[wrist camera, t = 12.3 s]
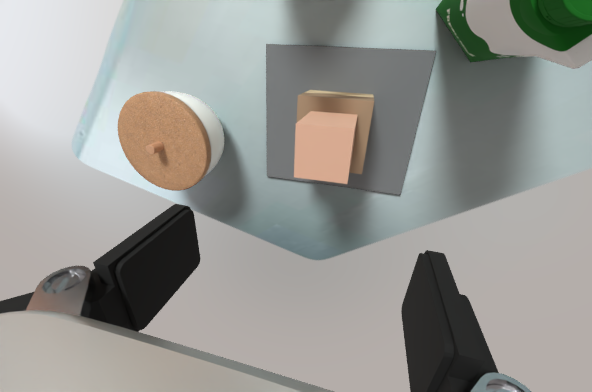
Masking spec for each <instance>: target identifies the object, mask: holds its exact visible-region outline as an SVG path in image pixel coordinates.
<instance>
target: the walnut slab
mask: <svg viewBox="0 0 592 392" xmlns="http://www.w3.org/2000/svg"><path fill="white" fill-rule="evenodd" d="M373 106H374V97H361V96H347V95H334V94H320V93H307V92H304V93H302V94H300V95H298V102H297V122H298V121H299V120H301V119H302V118H303V117H304V116H306V115H307V114H308V113H309V112H310V111H316V112H329V113H342V114H356V115H358V116H357V123H356V131H355V138H354V146H353V153H352V160H351V166H350V172H349V173H356V174H362V171H363V165H364V159H365V153H366V147H367V141H368V135H369V130H370V124H371V118H372V112H373Z"/></svg>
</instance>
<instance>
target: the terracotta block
mask: <svg viewBox="0 0 592 392" xmlns="http://www.w3.org/2000/svg"><path fill="white" fill-rule="evenodd" d="M357 116H358V115H356V114H342V113H329V112H316V111H310V112H309V113H308V114H307V115H306V116H304V117H303V118H302V119H301V120H299V121H298V122H297V123H296V129H295V159H294V177H295V178H303V179H311V180H319V181H327V182H335V183H343V184H347V183H348V177H349V172H350V166H351V160H352V153H353V146H354V138H355V131H356V123H357Z"/></svg>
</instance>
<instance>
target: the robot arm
mask: <svg viewBox="0 0 592 392" xmlns="http://www.w3.org/2000/svg"><path fill="white" fill-rule="evenodd" d="M199 262H200V254H199V247H198V240H197V233H196V226H195V219H194V214H193V211H192V210H191V209H190V207H188V206H184V205H179V204H175V205H173V206H171V207H170V208H169V209H167V210H166V211H165V212H163V213H162V214H160V215H159V216H157V217H156V218H155V219H153V220H152V221H150V222H149V223H148V224H146V225H145V226H143V227H142V228H141V229H139V230H138V231H136V232H135V233H134V234H132V235H131V236H129V237H128V238H127V239H125V240H124V241H123V242H121V243H120V244H118V245H117V246H116V247H114V248H113V249H111V250H110V251H109V252H107V253H106V254H104V255H103V256H102V257H100V258H99V259H97V260H96V261H95V262H93V263H94V266H95V269H94V270H92V271H91V270H90V269H89V268H87V267H85V266H71V267H67V268H64V269H60V270H58V271H56V272H54V273H52V274H50V275H49V276H47V277H46V278H44V279H43V280H42V281H41V282H40V283H39V285H38V286H37V288H36V290H35V292H32V293H29V294H25V295H21V296H18V297H14V298H11V299H7V300H3V301H0V392H334V391H330V390H327V389H324V388H321V387H318V386H314V385H311V384H308V383H305V382H301V381H298V380H295V379H292V378H288V377H285V376H282V375H279V374H275V373H272V372H269V371H266V370H263V369H259V368H256V367H253V366H249V365H246V364H243V363H239V362H236V361H233V360H230V359H226V358H223V357H219V356H216V355H213V354H210V353H206V352H203V351H200V350H197V349H193V348H190V347H186V346H183V345H180V344H177V343H173V342H170V341H166V340H163V339H160V338H156V337H153V336H150V335H146V334H143V333H139V332H138V331H139V330H142V329H144V328H145V327H146V326H147V325H148V324H149V323H150V321H151V320H152V319H153V318H154V317H155V315H156V314H157V313H158V312H159V311H160V310H161V309H162V307H163V306H164V305H165V304H166V303H167V302H168V300H169V299H170V298H171V297H172V296H173V295H174V293H175V292H176V291H177V290H178V289H179V288H180V286H181V285H182V284H183V283H184V282H185V281H186V279H187V278H188V277H189V276H190V275H191V274H192V272H193V271H194V270H195V269H196V268H197V266H198V265H199ZM402 321H403V330H404V338H405V347H406V356H407V364H408V373H409V381H410V390H411V392H531V391H530V390H529V389H528V388H527V387H526V386H524V385H523V384H521V383H520V382H518V381H517V380H515V379H513V378H511V377H509V376H507V375H504V374H499V373H498V370H497V368H496V365H495V363H494V360H493V358H492V355H491V353H490V351H489V348H488V346H487V343H486V341H485V338H484V336H483V333H482V331H481V328H480V326H479V323H478V321H477V319H476V316H475V314H474V311H473V309H472V306H471V304H470V302H469V300H468V298H467V297H466V296H465V295H461V294H459V291H458V289H457V286H456V283H455V281H454V278H453V275H452V273H451V270H450V267H449V265H448V262H447V259H446V257H445V255H444V254H443V253H438V252H433V251H428V250H427V251H426V252H425V253H424V254H422V253H420V254H419V256H418V259H417V262H416V265H415V268H414V271H413V274H412V277H411V280H410V283H409V286H408V289H407V292H406V295H405V298H404V301H403V304H402Z"/></svg>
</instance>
